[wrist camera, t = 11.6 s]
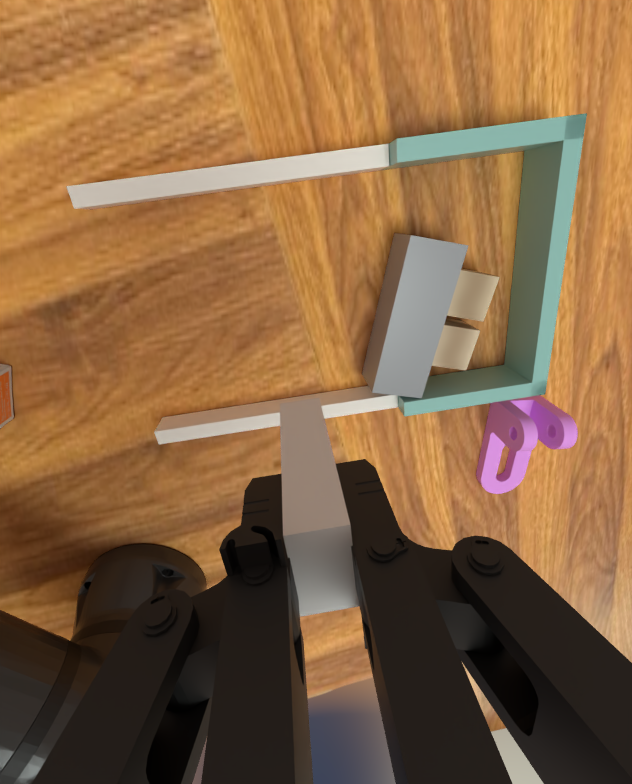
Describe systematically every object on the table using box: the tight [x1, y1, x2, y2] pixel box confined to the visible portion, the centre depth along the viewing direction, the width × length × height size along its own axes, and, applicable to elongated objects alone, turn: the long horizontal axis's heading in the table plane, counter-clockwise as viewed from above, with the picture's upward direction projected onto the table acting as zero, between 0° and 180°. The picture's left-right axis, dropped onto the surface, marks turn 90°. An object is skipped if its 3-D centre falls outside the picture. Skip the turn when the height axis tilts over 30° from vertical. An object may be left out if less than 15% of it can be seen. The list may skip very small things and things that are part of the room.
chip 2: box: [432, 318, 480, 370], centre depth 38 cm, size 4×4×4 cm
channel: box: [66, 144, 398, 444], centre depth 35 cm, size 24×23×3 cm
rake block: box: [362, 233, 468, 398], centre depth 36 cm, size 5×14×5 cm, turn 170°
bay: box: [382, 113, 587, 416], centre depth 35 cm, size 14×23×5 cm, turn 7°
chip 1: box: [447, 268, 499, 322], centre depth 36 cm, size 4×4×4 cm
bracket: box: [476, 395, 578, 494], centre depth 43 cm, size 13×6×7 cm, turn 0°
